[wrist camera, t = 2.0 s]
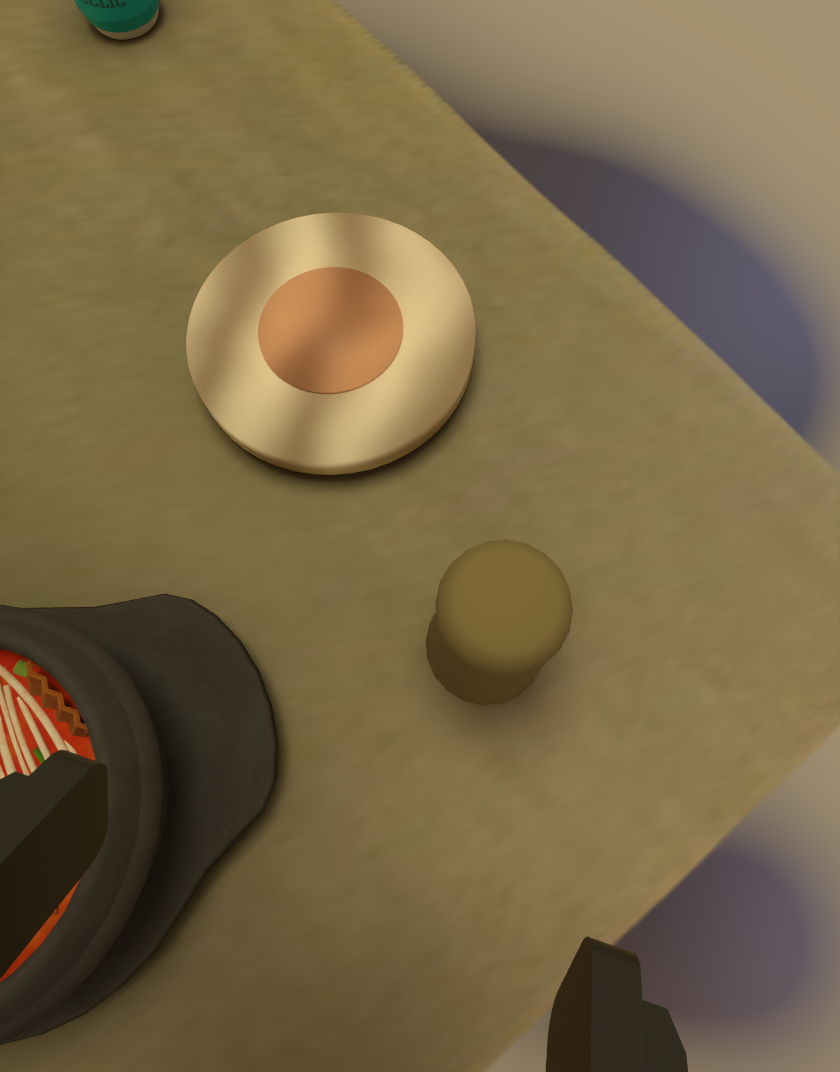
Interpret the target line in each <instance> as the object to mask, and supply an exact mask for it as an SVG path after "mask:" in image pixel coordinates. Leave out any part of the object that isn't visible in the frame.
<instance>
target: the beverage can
mask: <svg viewBox="0 0 840 1072" xmlns="http://www.w3.org/2000/svg"><path fill="white" fill-rule="evenodd" d="M75 2H76V4H77V6H78V8H79V9H80V11H81V12H82V13H83V14H84V15H85V16H86V17H87V19H88V20H89V21H90V22H91V23H92V24H93V25H94V26H95V27H96V28H97V29H98V30H99V31H100V32H101V33H102V34H104V35H106V36H108V37H110V38H113V39H120V40H126V39H132V38H136V37H139V36H141V35H143V34H145V33H146V32H148V31H149V30H150V29H151V28H152V27H153V26H154V24H155V23H156V20H157V18H158V13H159V0H75Z"/></svg>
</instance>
